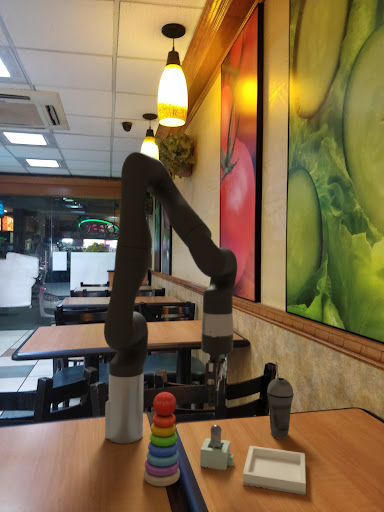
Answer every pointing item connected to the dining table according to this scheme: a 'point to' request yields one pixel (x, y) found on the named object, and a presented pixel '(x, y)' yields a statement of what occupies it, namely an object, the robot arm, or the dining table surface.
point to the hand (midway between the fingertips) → (216, 399)
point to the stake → (216, 437)
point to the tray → (275, 470)
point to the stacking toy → (162, 444)
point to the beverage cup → (279, 405)
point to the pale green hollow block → (216, 455)
